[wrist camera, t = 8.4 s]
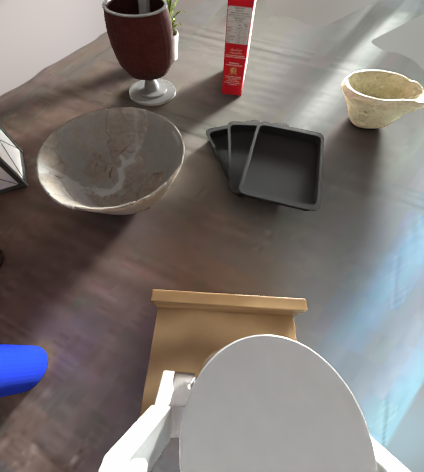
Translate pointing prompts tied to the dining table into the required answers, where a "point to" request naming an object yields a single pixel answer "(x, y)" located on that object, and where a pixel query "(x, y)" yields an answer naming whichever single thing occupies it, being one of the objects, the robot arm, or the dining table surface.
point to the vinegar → (1, 257)
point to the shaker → (272, 413)
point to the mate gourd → (142, 46)
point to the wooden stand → (209, 329)
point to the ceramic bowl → (110, 160)
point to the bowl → (380, 97)
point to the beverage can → (20, 368)
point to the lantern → (11, 164)
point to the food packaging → (237, 44)
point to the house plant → (175, 32)
